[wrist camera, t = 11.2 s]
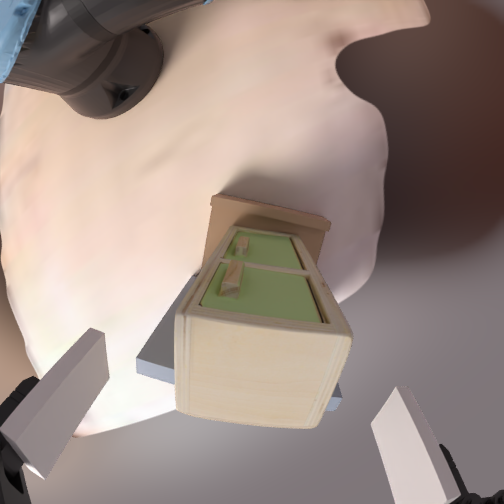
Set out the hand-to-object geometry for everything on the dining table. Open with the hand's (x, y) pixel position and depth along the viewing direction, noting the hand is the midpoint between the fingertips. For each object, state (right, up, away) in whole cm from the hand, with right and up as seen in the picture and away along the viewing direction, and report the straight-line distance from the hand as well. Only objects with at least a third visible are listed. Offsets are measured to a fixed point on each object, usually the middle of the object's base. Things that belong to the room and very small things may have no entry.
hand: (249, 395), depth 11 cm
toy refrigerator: (+1, +6, +22) cm, 22 cm away
